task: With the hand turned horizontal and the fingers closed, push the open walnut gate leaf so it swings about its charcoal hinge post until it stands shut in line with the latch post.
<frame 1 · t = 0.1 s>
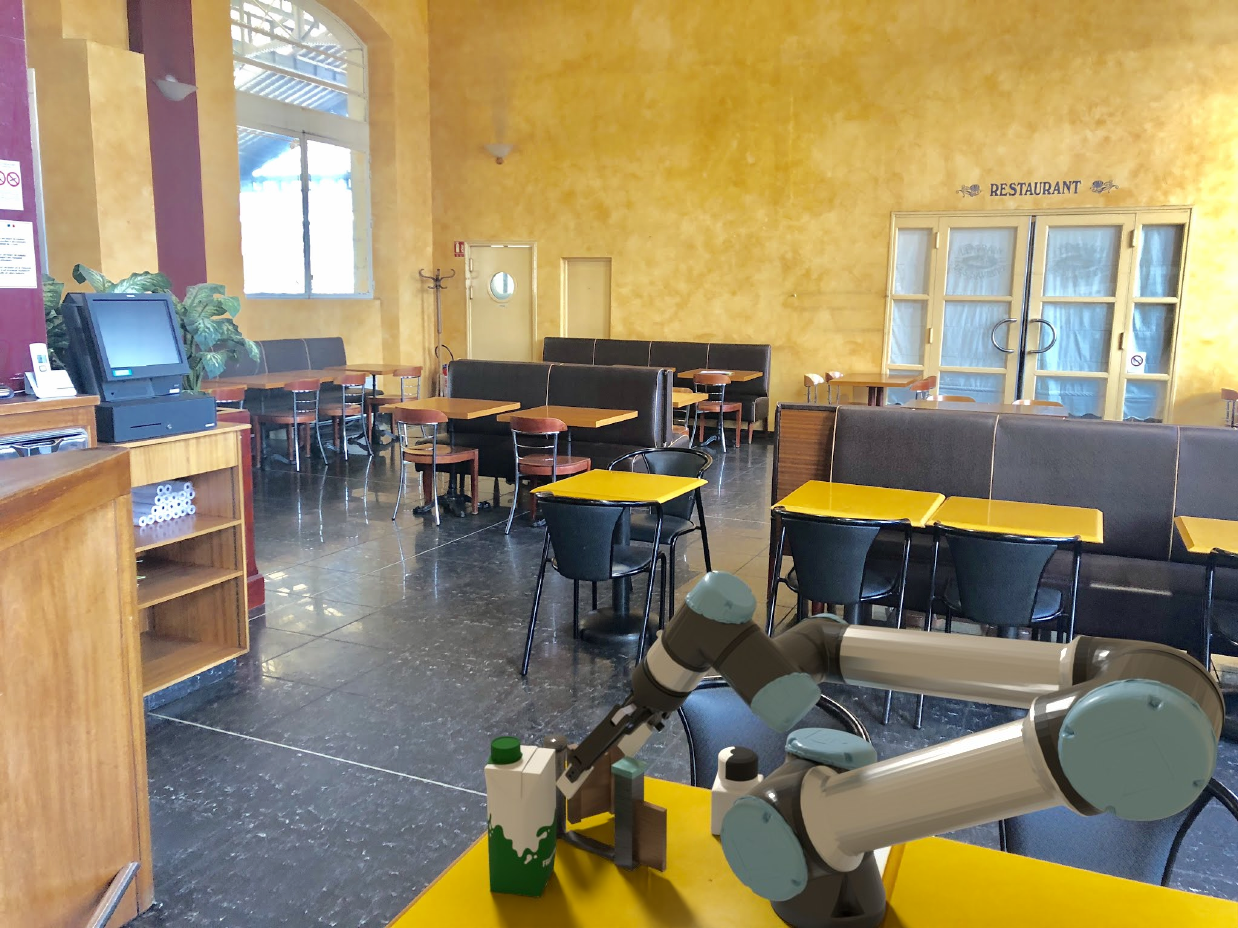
hand: (595, 770, 130), 15 cm above the table, tool tilted 35°, fingers open, 13 cm apart
gate posts: (593, 848, 138), on the table
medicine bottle: (737, 826, 144), on the table
gate: (596, 773, 144), point 8 cm above the table, hinge at 65.0°
milk carton: (523, 881, 130), on the table
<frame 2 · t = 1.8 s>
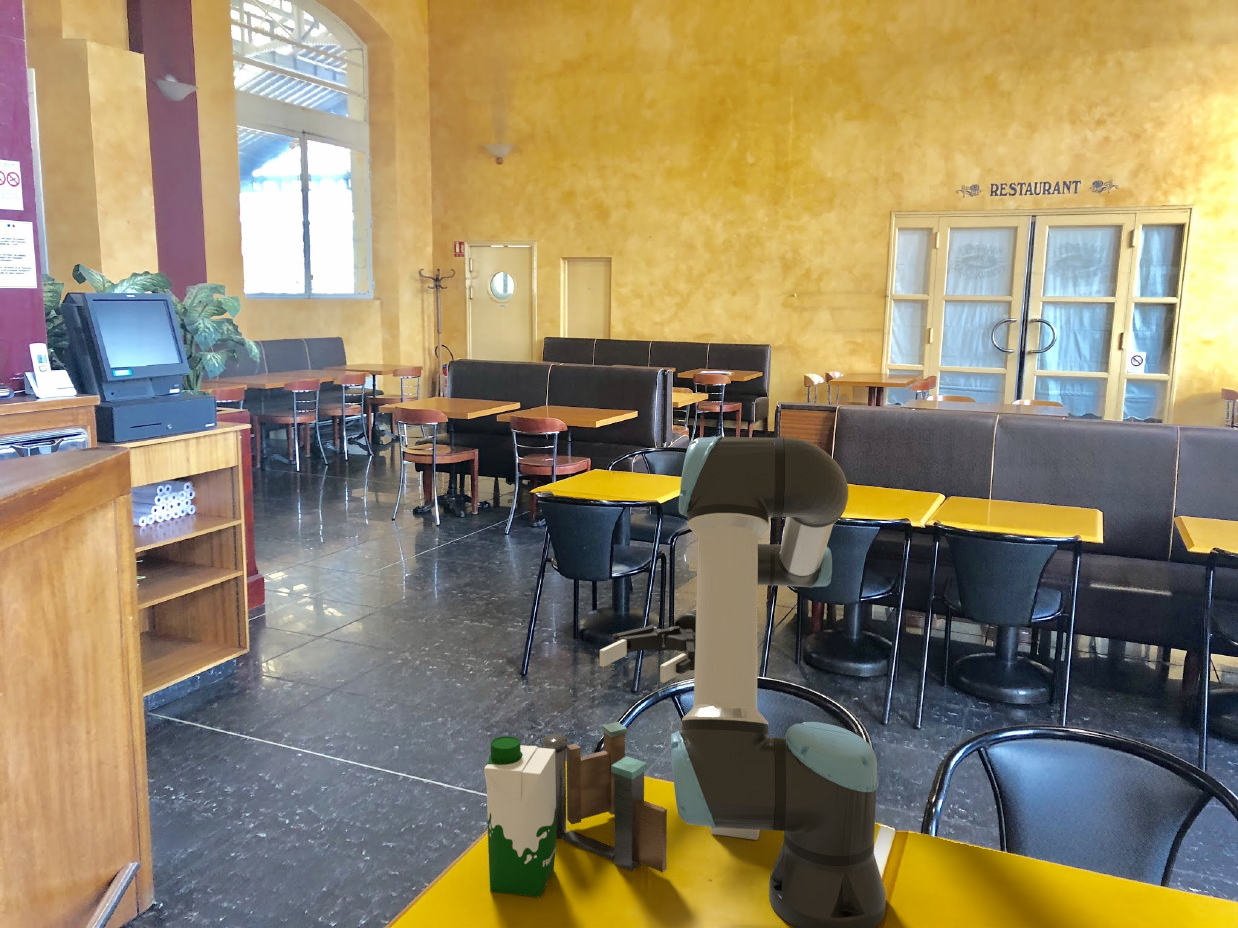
hand: (631, 666, 150), 22 cm above the table, tool horizontal, fingers open, 11 cm apart
nothing on the table moved.
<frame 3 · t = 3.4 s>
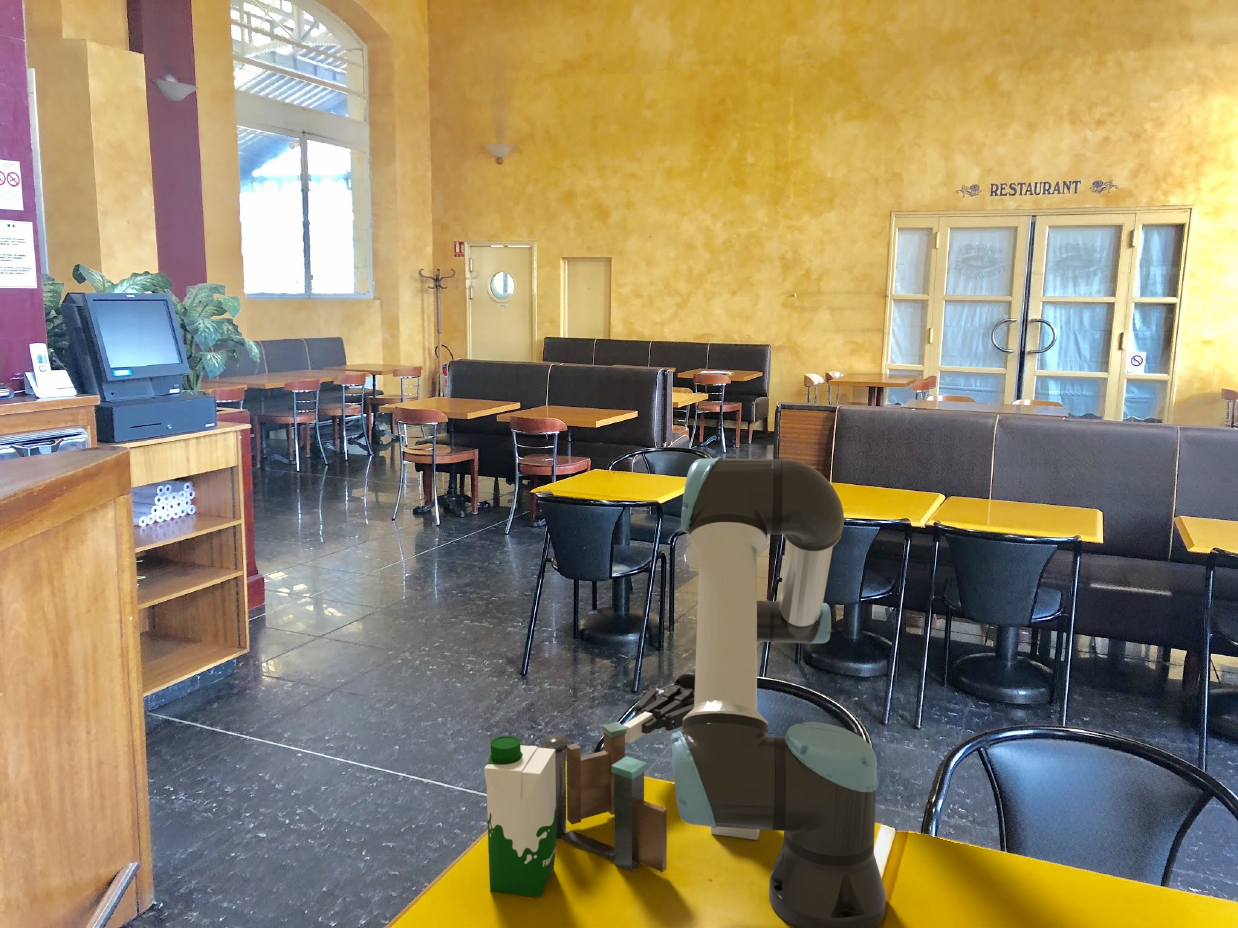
hand: (626, 734, 151), 11 cm above the table, tool horizontal, fingers closed
nothing on the table moved.
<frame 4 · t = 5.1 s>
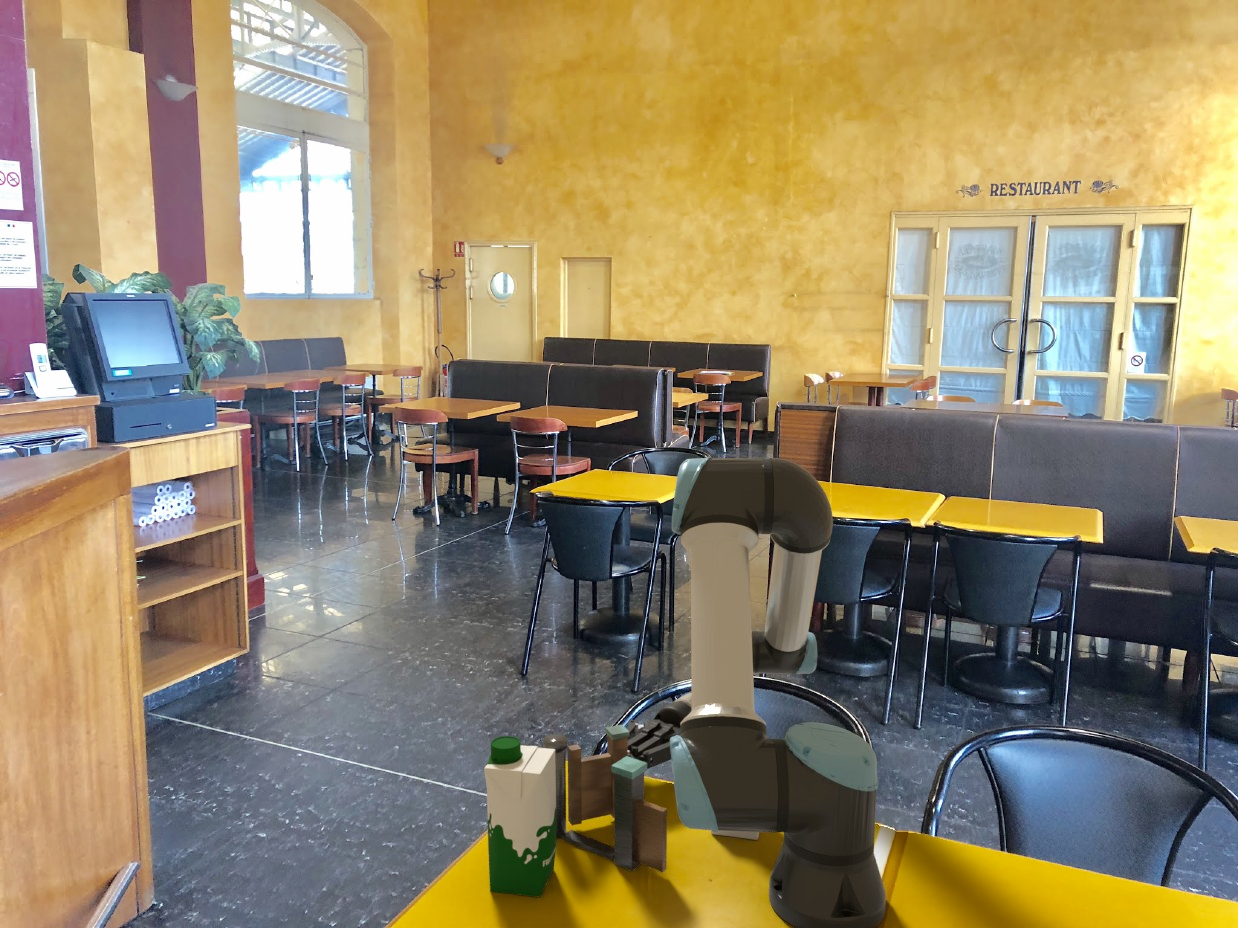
hand: (601, 772, 146), 7 cm above the table, tool horizontal, fingers closed
gate: (598, 775, 144), point 8 cm above the table, hinge at 58.7°, touching gripper
everything else where it was.
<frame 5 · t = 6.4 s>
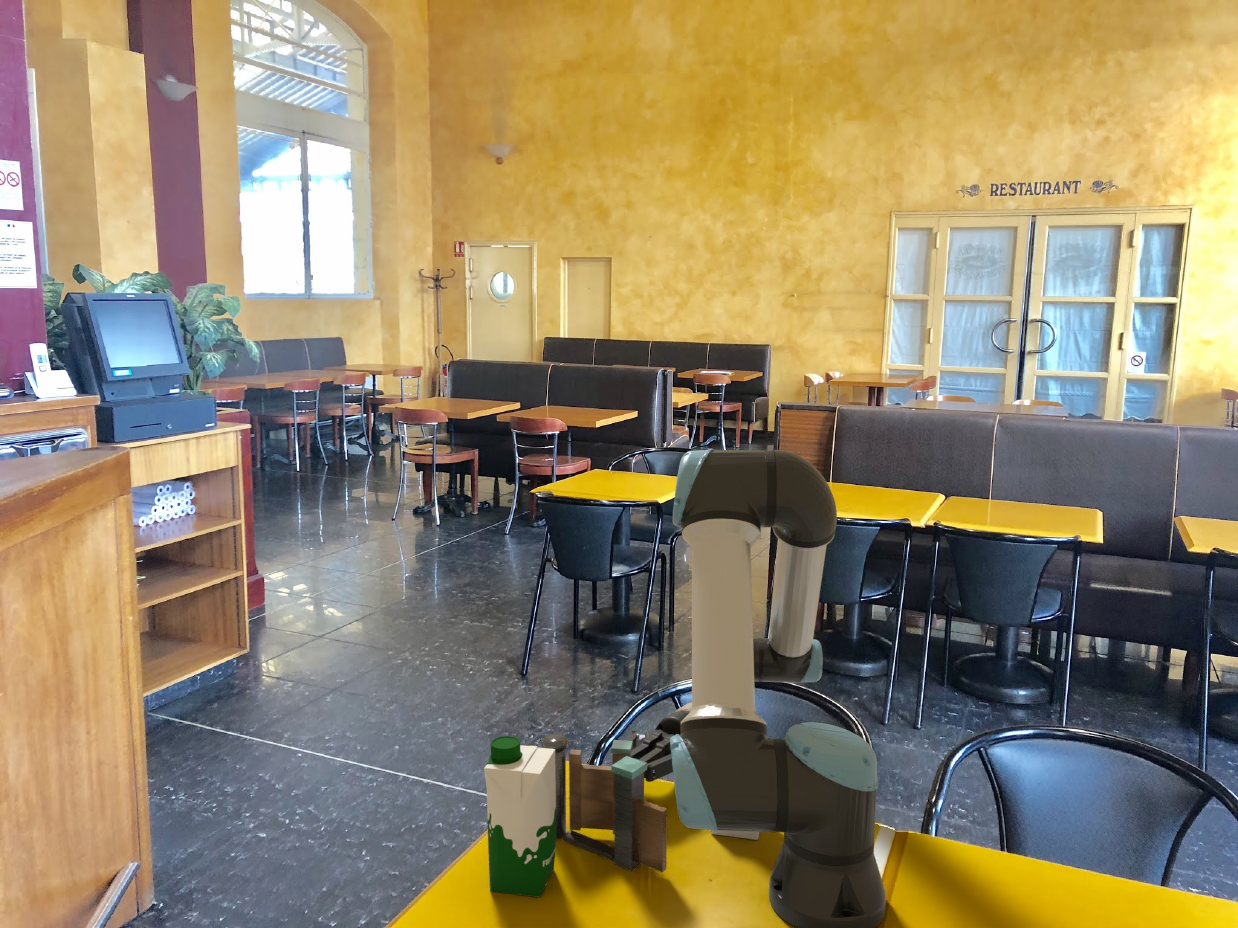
hand: (602, 786, 141), 7 cm above the table, tool horizontal, fingers closed
gate: (600, 786, 140), point 8 cm above the table, hinge at 28.4°, touching gripper
everything else where it was.
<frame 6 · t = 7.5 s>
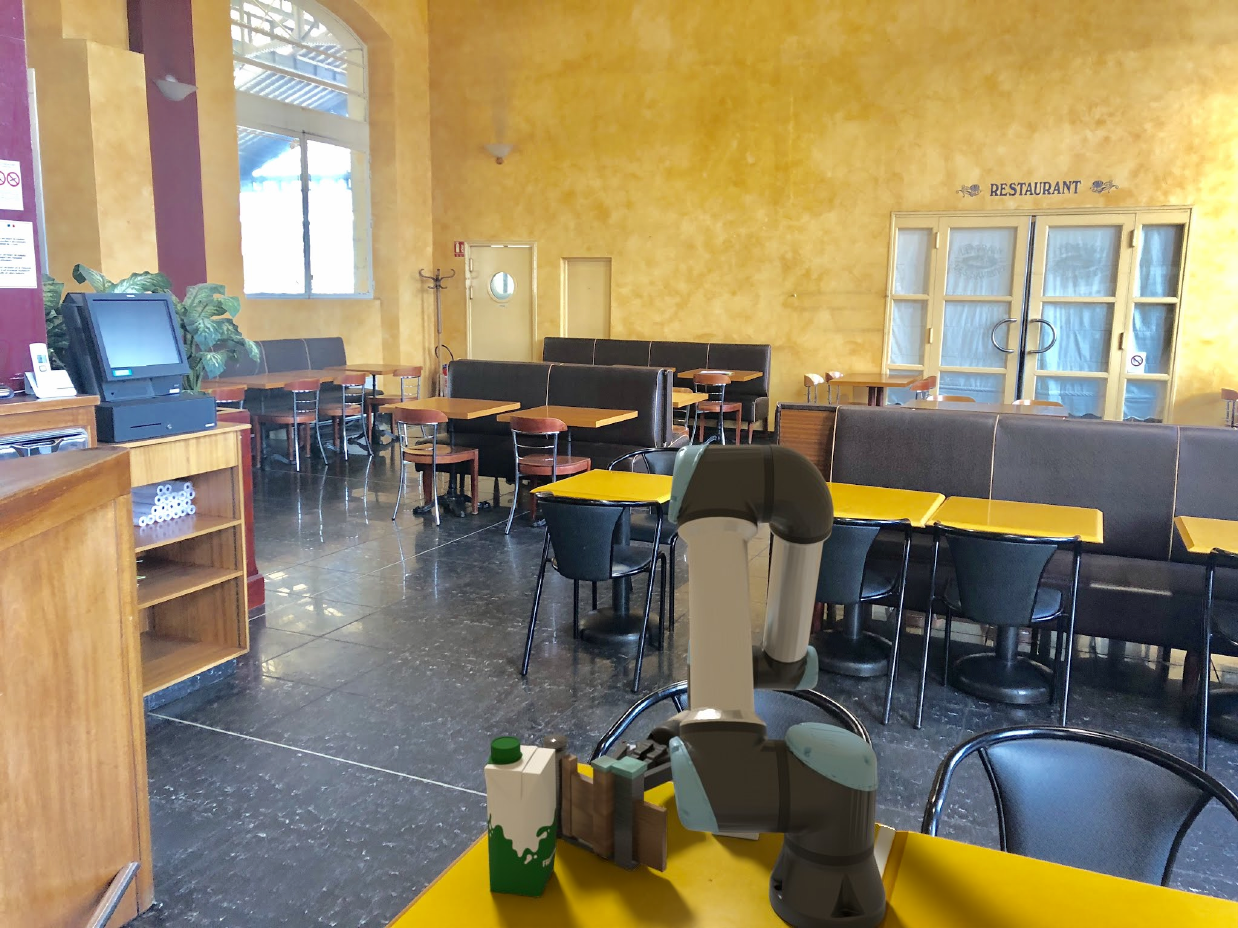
hand: (590, 799, 138), 7 cm above the table, tool horizontal, fingers closed
gate: (588, 798, 136), point 8 cm above the table, hinge at -5.8°, touching gripper
everything else where it was.
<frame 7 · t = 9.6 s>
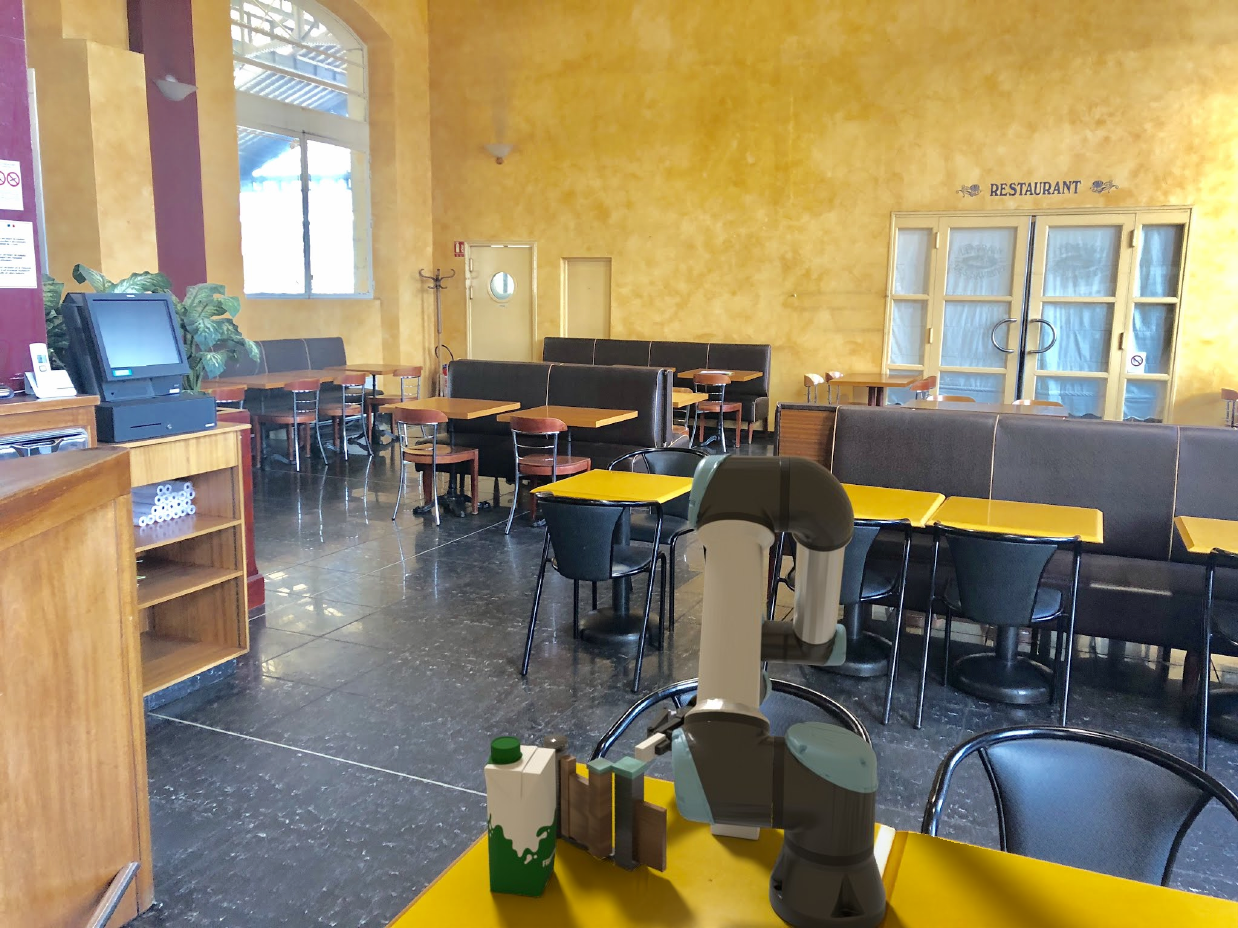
hand: (638, 755, 147), 9 cm above the table, tool horizontal, fingers closed
gate: (585, 800, 136), point 8 cm above the table, hinge at -10.9°
everything else where it was.
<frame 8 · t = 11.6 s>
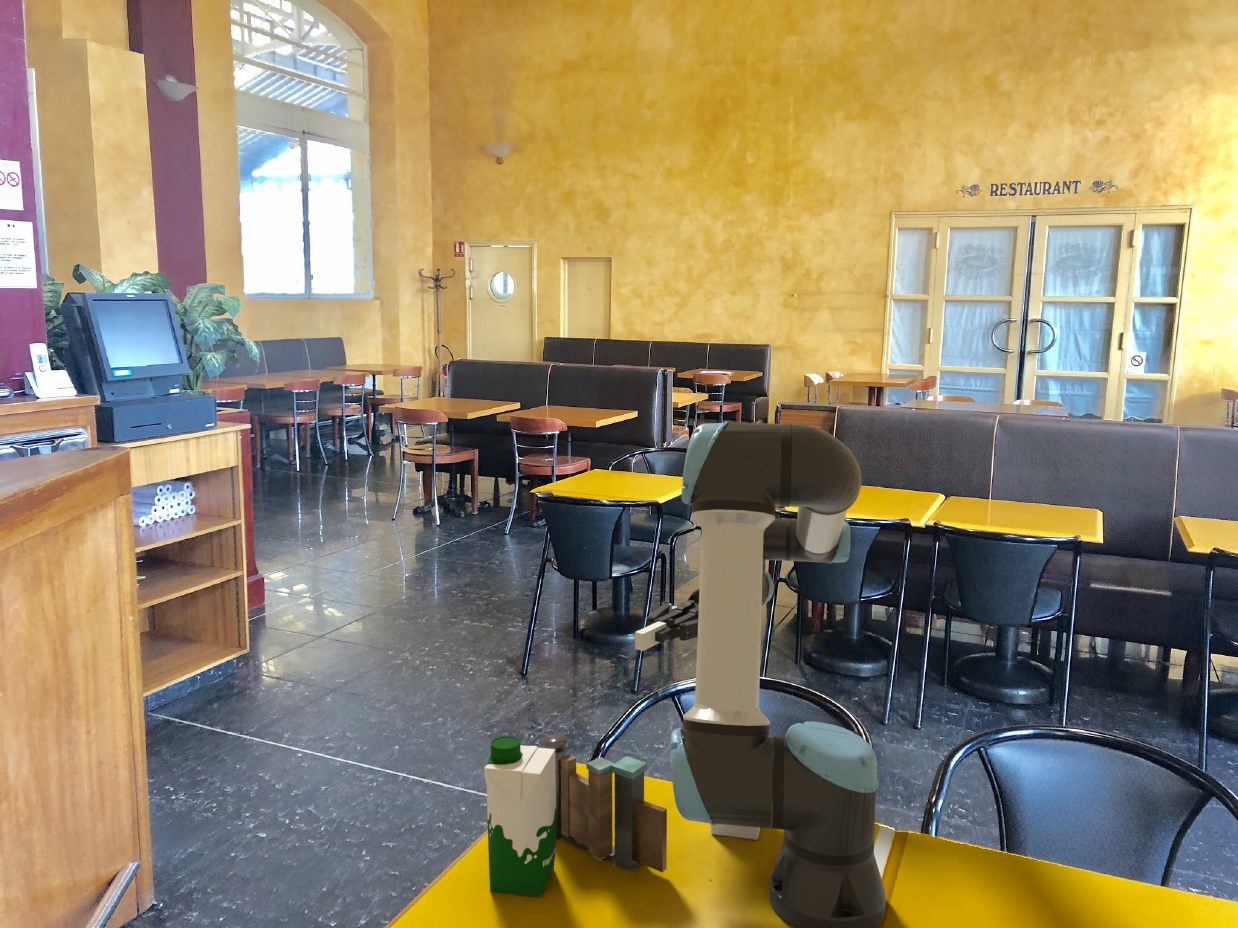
hand: (639, 641, 144), 28 cm above the table, tool horizontal, fingers closed
nothing on the table moved.
at the end: gate at -11° (first picture: +65°) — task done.
